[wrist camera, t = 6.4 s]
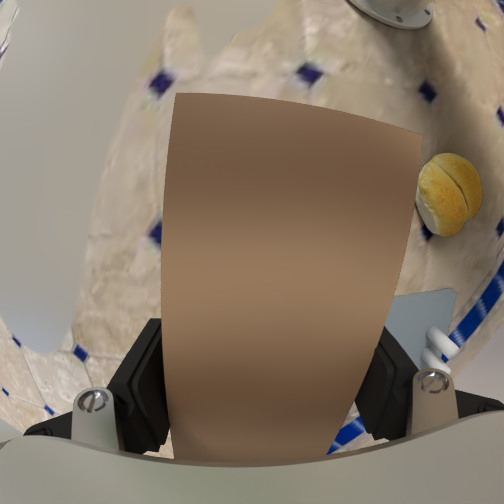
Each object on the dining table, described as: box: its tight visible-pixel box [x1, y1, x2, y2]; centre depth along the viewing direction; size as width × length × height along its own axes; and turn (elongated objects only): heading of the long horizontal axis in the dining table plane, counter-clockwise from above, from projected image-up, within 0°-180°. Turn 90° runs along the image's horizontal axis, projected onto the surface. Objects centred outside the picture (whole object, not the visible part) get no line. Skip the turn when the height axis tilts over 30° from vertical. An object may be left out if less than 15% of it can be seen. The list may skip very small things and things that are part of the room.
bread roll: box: [415, 153, 482, 237], centre depth 23 cm, size 8×9×4 cm
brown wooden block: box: [161, 93, 423, 462], centre depth 10 cm, size 16×6×4 cm, turn 173°
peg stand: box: [384, 288, 459, 375], centre depth 26 cm, size 12×18×6 cm, turn 94°
